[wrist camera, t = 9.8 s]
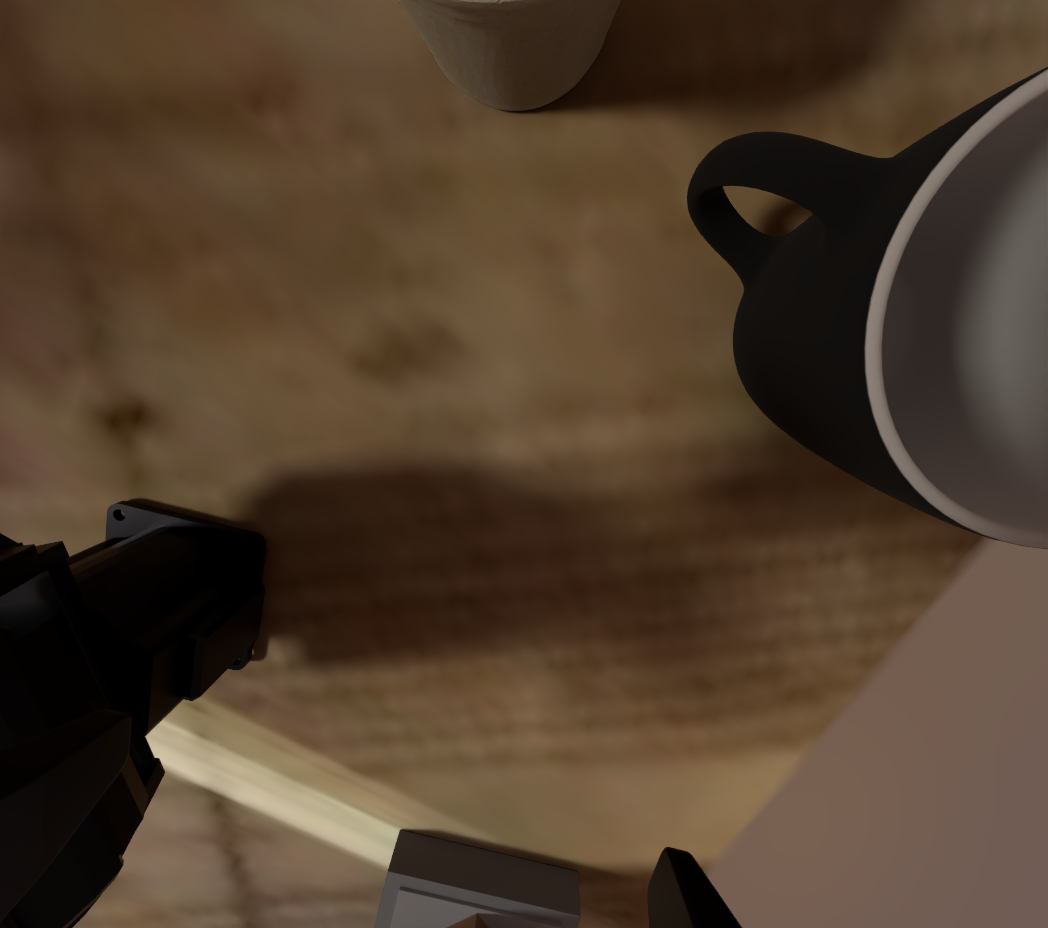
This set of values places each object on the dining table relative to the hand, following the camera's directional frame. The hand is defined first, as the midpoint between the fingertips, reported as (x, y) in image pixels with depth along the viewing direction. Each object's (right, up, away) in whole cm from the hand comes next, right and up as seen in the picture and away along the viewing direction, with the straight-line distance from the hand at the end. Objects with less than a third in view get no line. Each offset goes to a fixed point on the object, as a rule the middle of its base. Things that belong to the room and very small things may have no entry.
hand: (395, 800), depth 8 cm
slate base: (-1, -18, +18) cm, 25 cm away
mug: (+12, +11, +11) cm, 19 cm away
